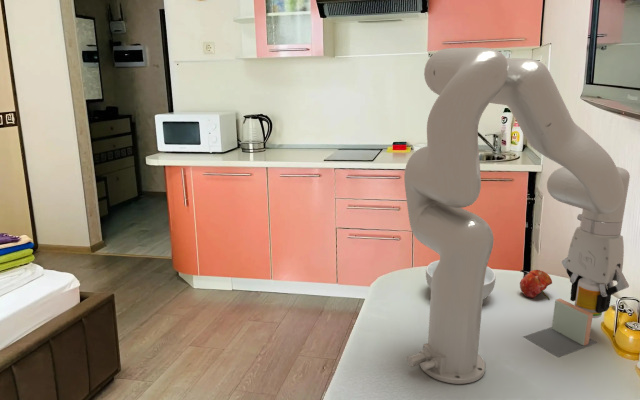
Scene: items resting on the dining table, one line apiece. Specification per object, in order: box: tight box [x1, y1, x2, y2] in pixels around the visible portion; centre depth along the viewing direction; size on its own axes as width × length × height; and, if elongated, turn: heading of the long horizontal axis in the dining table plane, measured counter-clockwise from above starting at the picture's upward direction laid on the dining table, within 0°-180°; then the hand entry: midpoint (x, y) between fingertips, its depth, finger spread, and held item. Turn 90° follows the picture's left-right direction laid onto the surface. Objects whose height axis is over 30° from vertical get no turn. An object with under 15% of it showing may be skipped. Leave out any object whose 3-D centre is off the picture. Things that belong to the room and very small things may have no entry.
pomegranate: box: [519, 269, 553, 300], centre depth 132 cm, size 7×7×10 cm
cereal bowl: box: [425, 259, 496, 300], centre depth 133 cm, size 17×17×7 cm
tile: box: [551, 298, 593, 346], centre depth 113 cm, size 2×8×7 cm, turn 27°
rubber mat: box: [522, 326, 598, 358], centre depth 113 cm, size 12×9×1 cm
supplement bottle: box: [574, 277, 603, 319], centre depth 114 cm, size 5×5×10 cm
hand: (588, 304), depth 114 cm, fingers closed on supplement bottle, 5 cm apart
